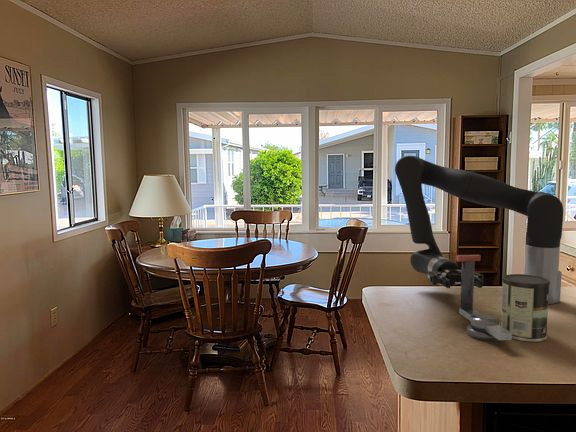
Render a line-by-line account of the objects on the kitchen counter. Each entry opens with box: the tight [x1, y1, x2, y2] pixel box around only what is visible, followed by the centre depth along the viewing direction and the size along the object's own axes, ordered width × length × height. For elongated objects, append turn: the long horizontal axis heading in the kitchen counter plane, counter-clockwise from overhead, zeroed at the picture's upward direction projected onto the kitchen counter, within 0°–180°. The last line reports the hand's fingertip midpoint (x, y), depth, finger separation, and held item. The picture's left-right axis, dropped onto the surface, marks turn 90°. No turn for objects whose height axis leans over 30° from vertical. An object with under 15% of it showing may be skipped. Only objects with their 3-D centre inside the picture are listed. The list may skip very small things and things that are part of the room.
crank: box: [455, 254, 513, 341], centre depth 110 cm, size 20×6×16 cm, turn 6°
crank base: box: [466, 323, 499, 342], centre depth 110 cm, size 8×8×2 cm
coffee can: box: [500, 273, 550, 343], centre depth 109 cm, size 10×10×14 cm
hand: (465, 284), depth 119 cm, fingers open, 8 cm apart
